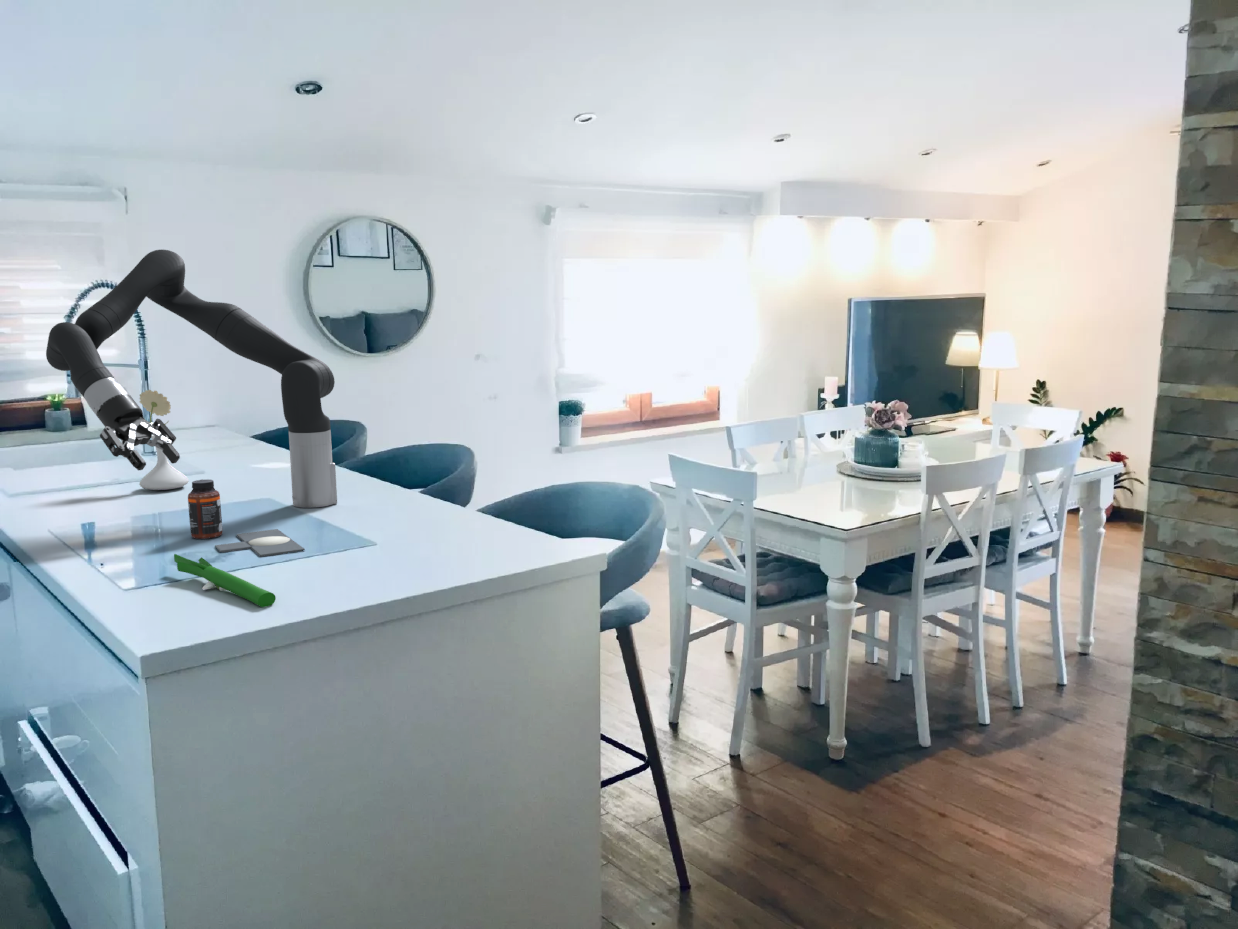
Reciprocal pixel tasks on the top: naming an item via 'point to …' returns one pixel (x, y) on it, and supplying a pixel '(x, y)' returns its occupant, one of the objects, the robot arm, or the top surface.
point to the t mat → (263, 543)
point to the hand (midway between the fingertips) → (159, 464)
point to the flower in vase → (163, 472)
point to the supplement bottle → (204, 510)
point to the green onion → (225, 581)
